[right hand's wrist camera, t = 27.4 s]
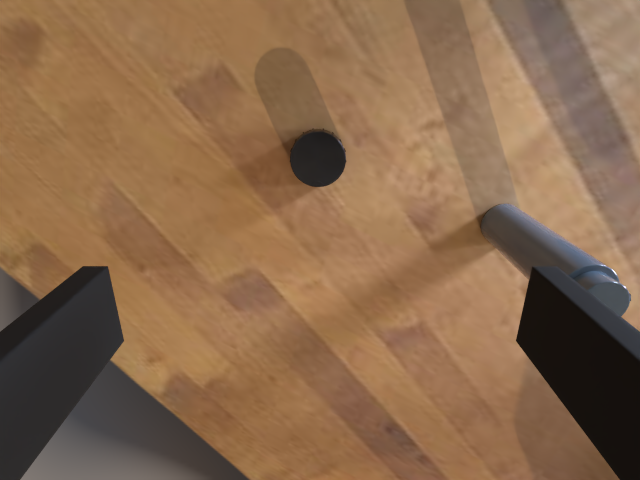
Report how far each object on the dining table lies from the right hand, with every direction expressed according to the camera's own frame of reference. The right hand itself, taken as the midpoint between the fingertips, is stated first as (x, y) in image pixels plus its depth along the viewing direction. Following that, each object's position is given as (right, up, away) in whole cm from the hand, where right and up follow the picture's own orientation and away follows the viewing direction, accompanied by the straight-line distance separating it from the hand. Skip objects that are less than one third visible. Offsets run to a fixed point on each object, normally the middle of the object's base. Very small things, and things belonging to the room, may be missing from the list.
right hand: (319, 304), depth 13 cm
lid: (0, +9, +22) cm, 24 cm away
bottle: (+18, +4, +26) cm, 32 cm away
